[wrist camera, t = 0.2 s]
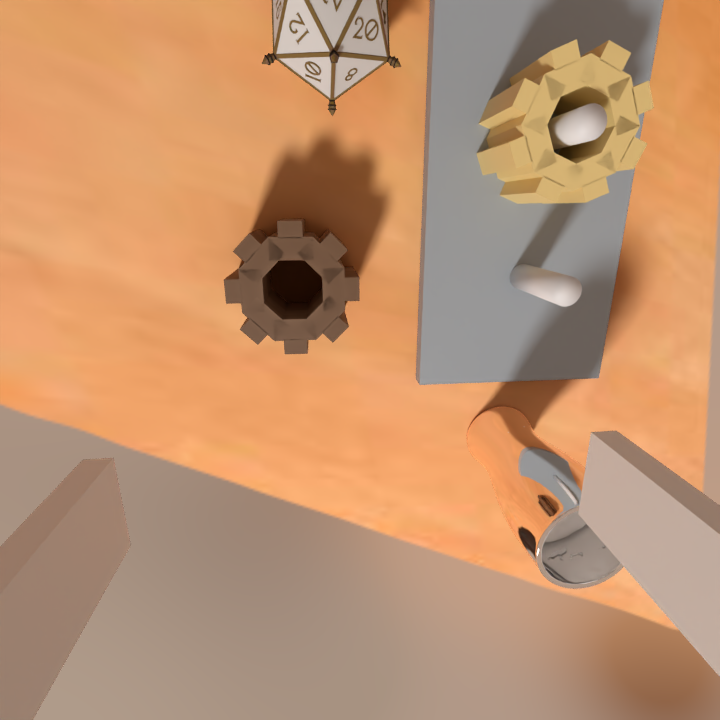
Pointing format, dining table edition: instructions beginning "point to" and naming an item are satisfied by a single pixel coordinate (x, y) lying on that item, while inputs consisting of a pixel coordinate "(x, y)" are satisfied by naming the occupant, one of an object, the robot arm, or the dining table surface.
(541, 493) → the beer glass
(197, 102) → the dining table surface
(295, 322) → the walnut gear
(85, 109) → the dining table surface
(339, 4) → the game die
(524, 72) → the gear
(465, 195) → the gear board
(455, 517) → the dining table surface
